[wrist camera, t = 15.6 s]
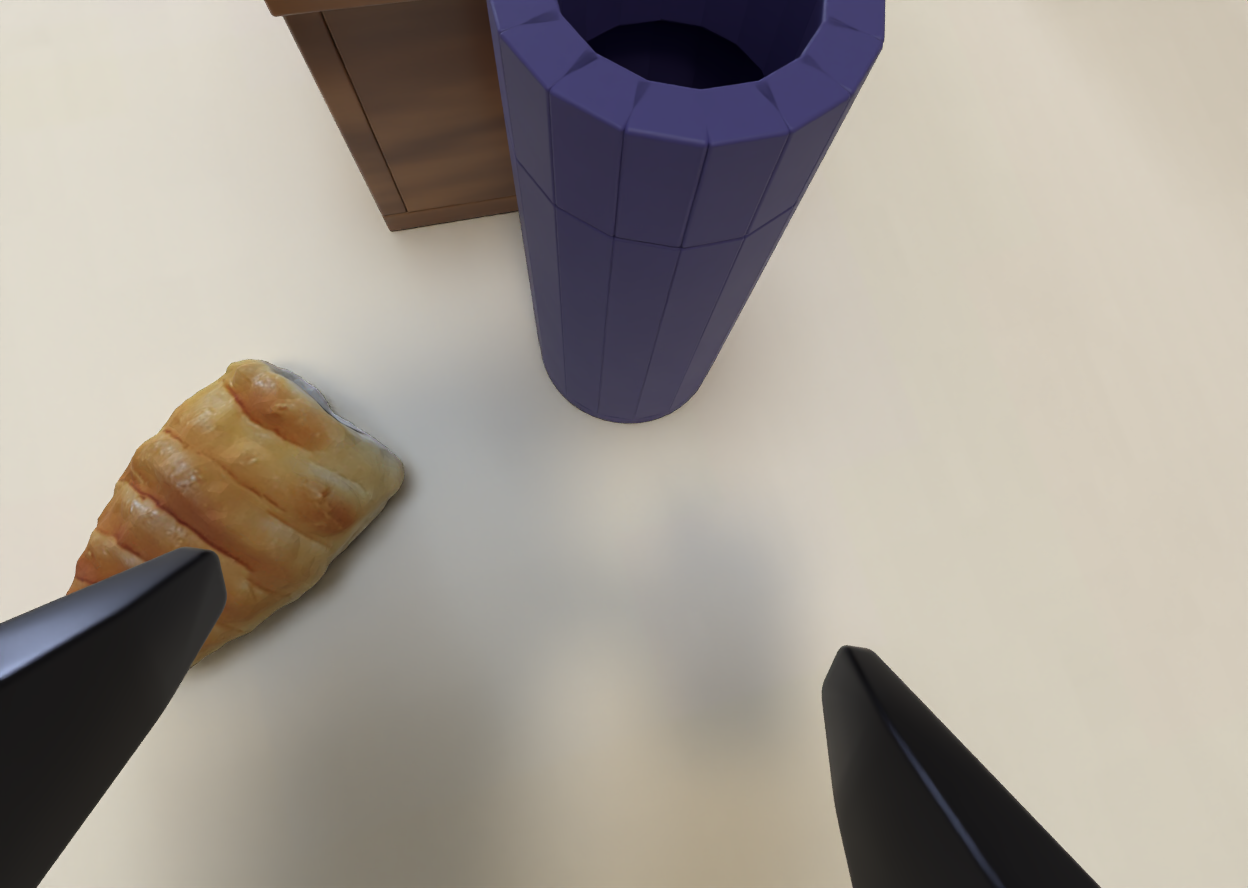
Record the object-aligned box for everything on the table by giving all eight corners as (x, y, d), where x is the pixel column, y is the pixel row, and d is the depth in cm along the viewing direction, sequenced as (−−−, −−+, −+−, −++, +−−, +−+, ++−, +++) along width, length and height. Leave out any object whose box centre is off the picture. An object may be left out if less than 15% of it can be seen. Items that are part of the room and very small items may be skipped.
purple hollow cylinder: (745, 361, 22) (967, 24, 9) (609, 458, 20) (654, 215, 8) (642, 239, 23) (717, -210, 10) (506, 323, 21) (405, -76, 9)
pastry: (220, 725, 17) (122, 754, 14) (53, 590, 18) (-82, 583, 14) (429, 470, 20) (394, 437, 16) (275, 360, 21) (208, 304, 17)
